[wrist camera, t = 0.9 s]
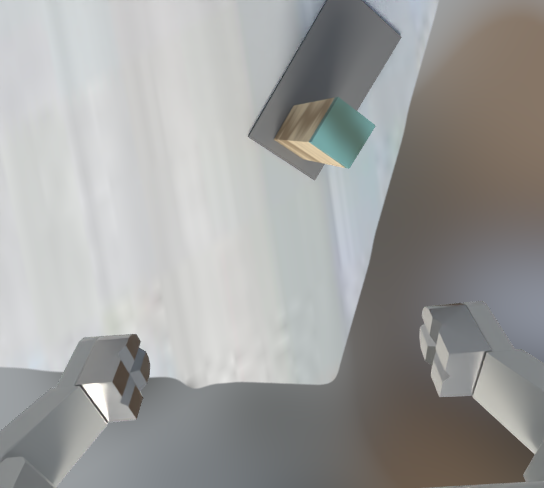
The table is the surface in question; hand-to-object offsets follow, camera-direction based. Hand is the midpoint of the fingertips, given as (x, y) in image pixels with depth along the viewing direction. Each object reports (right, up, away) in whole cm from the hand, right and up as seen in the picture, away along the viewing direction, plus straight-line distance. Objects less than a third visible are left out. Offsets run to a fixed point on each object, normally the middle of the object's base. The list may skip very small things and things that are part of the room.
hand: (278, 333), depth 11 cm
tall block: (+3, +17, +40) cm, 44 cm away
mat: (+7, +23, +40) cm, 47 cm away
